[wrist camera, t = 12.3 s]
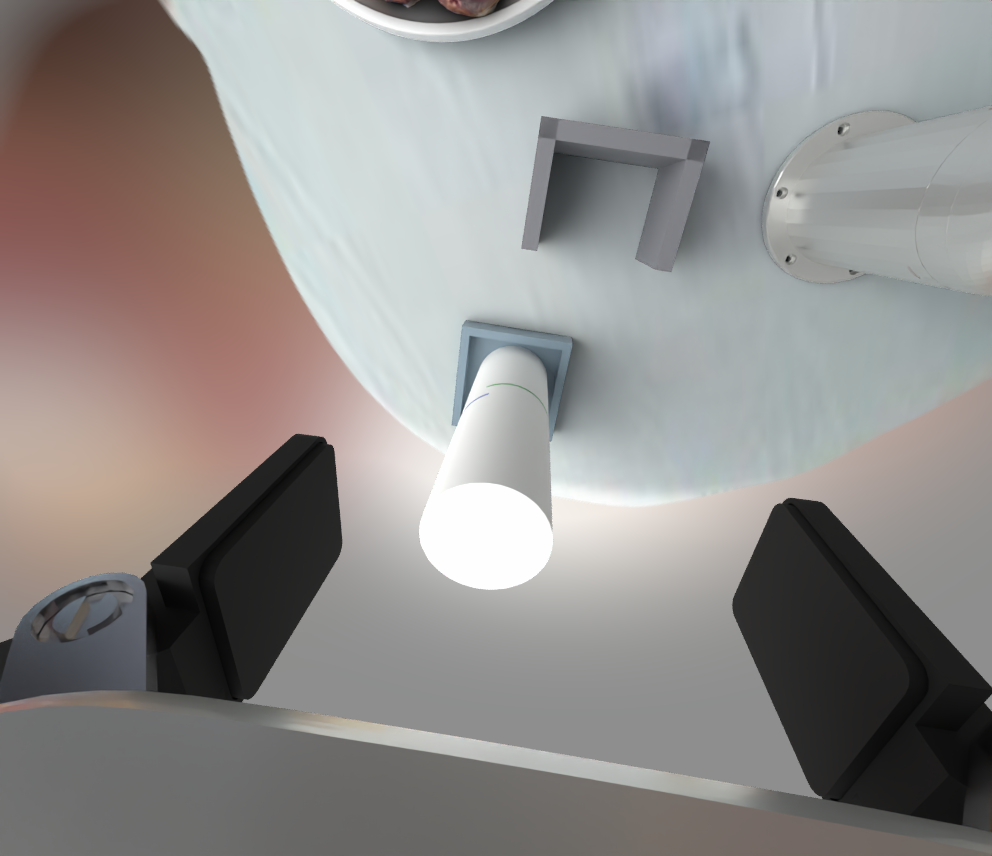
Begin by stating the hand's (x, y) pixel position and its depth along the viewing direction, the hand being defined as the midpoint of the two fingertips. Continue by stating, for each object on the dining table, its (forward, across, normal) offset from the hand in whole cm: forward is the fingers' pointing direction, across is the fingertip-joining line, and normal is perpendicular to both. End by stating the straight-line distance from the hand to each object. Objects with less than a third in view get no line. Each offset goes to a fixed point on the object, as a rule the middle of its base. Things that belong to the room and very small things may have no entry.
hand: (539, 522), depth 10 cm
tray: (+37, +3, +10) cm, 38 cm away
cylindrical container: (+36, +2, +10) cm, 37 cm away
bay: (+37, -3, -7) cm, 38 cm away
